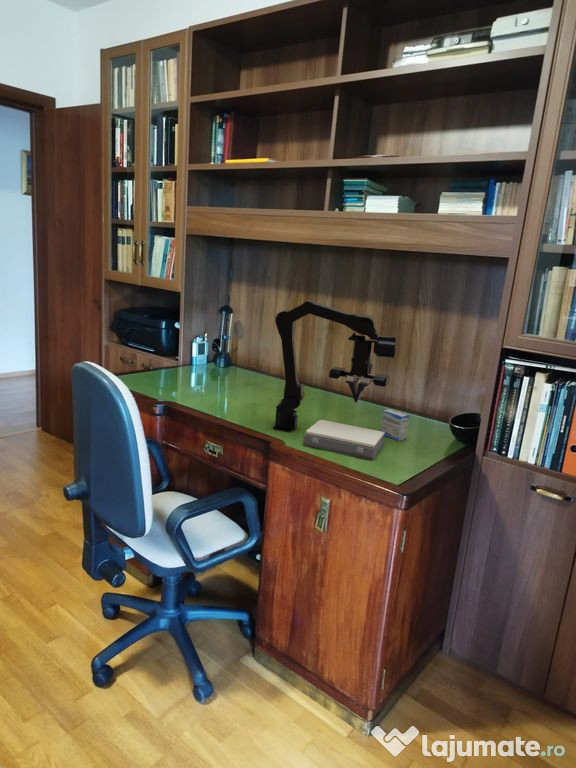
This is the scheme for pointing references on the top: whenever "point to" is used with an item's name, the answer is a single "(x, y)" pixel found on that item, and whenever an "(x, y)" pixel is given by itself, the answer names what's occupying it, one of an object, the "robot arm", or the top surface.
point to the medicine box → (394, 424)
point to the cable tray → (343, 446)
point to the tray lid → (346, 433)
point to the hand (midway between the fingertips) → (356, 402)
